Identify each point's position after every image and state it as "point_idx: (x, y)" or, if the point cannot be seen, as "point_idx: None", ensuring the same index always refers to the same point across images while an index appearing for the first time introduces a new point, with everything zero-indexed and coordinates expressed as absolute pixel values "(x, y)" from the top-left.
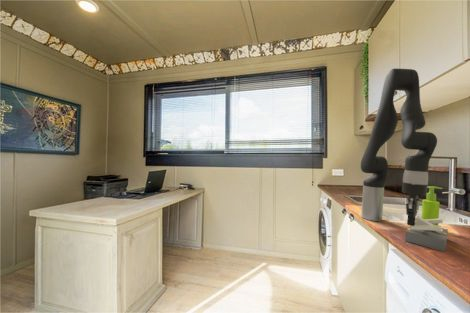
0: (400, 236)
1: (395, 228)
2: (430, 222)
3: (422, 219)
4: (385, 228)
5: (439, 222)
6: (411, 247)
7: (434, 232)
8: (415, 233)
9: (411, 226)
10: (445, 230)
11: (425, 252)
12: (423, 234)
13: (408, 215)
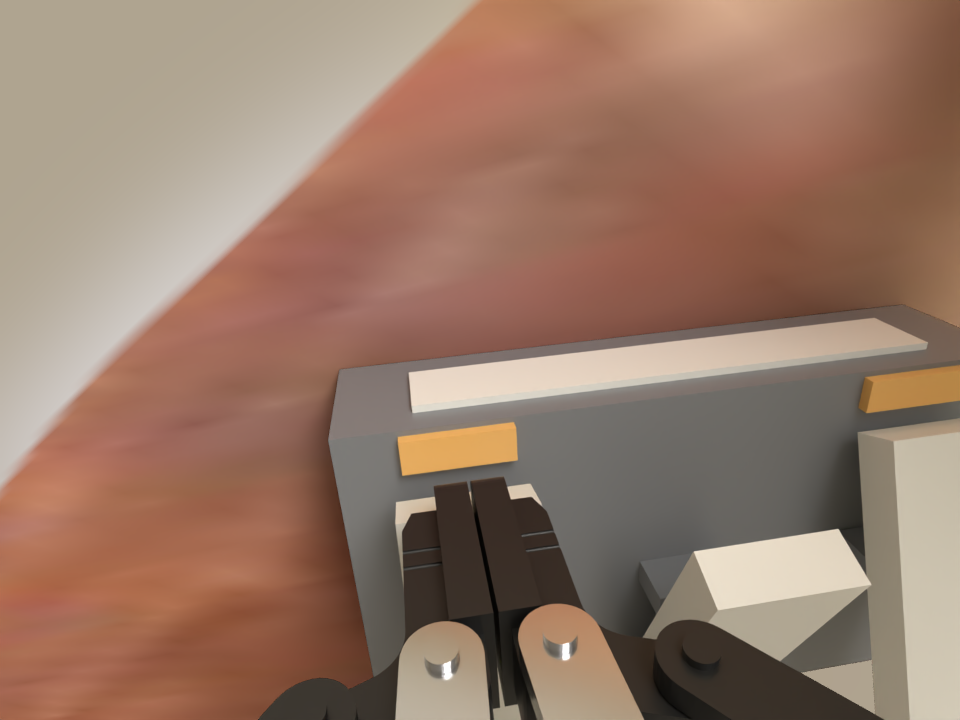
0: (483, 282)
1: (842, 124)
2: (878, 619)
3: (773, 628)
4: (711, 11)
5: (881, 712)
6: (165, 469)
7: (640, 626)
8: (347, 537)
9: (399, 534)
10: (851, 651)
11: (165, 574)
12: (400, 597)
13: (428, 641)
